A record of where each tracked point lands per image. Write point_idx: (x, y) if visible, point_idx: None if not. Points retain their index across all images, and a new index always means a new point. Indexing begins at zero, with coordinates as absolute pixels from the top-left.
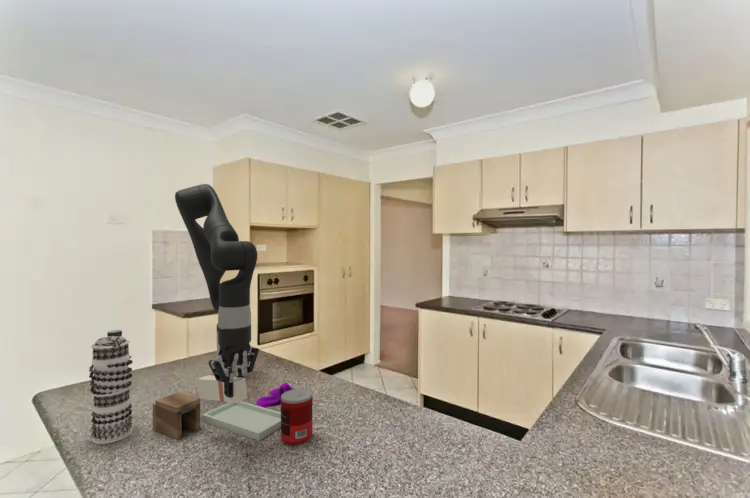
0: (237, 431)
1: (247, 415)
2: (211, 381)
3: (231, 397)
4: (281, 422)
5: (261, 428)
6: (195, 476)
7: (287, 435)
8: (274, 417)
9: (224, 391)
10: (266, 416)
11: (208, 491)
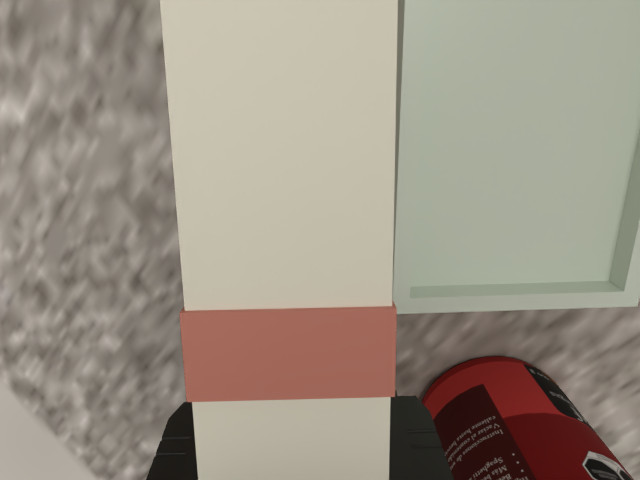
0: None
1: (583, 27)
2: (176, 136)
3: None
4: (452, 451)
5: (475, 238)
6: (34, 289)
7: None
8: (615, 204)
9: (164, 437)
10: (611, 152)
11: (24, 404)
